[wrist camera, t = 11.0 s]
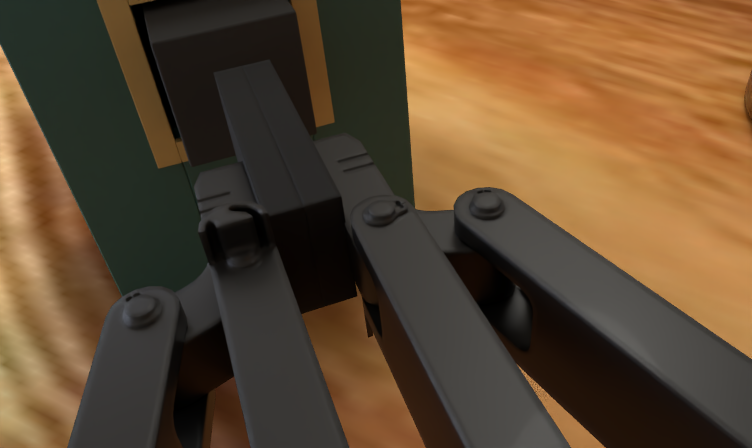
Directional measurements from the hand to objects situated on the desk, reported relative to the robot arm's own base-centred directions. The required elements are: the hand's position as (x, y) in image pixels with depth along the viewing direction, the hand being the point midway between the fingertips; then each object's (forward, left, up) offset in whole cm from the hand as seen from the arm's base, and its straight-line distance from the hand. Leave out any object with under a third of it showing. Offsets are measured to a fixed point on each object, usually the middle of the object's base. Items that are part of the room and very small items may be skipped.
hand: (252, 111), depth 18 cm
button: (+4, -2, -2) cm, 4 cm away
